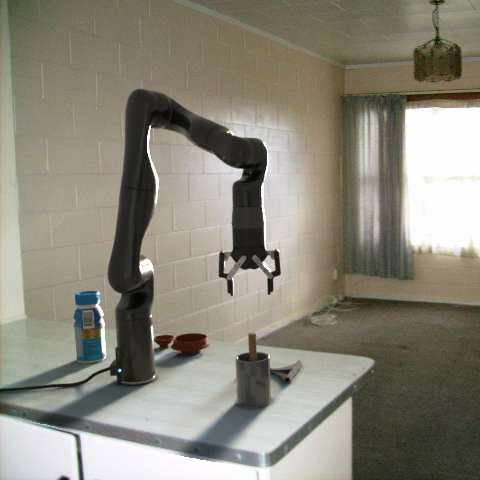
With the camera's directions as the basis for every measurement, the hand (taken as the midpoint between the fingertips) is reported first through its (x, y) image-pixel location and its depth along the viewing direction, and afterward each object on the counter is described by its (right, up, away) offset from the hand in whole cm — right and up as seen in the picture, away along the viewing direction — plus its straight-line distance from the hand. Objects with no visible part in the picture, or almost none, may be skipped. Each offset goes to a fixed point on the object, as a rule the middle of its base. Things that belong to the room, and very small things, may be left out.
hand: (250, 294), depth 148 cm
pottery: (-27, -21, +47) cm, 58 cm away
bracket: (+3, -23, +23) cm, 33 cm away
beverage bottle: (-51, -23, +39) cm, 68 cm away
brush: (+1, -25, +3) cm, 25 cm away
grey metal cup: (0, -26, +3) cm, 26 cm away
